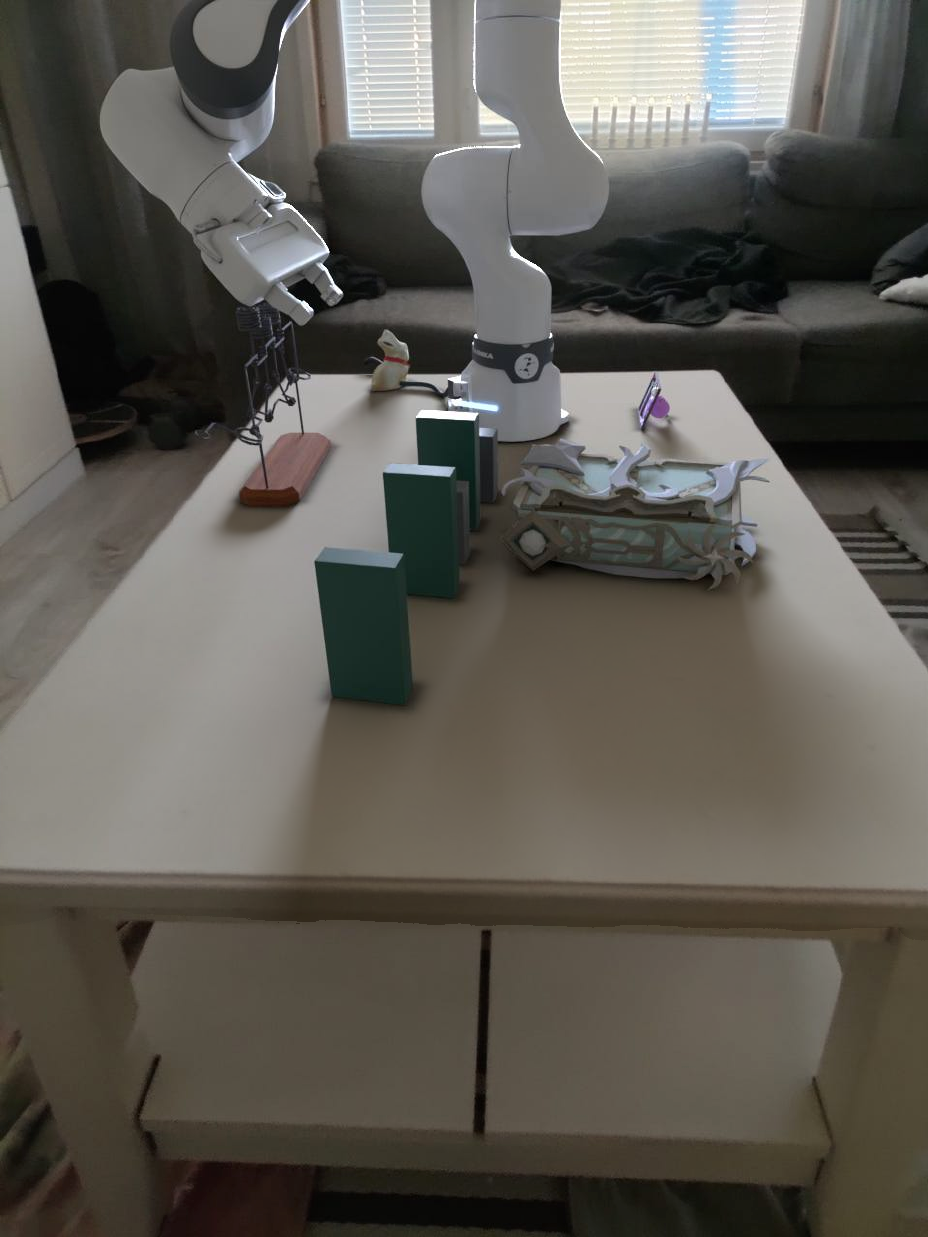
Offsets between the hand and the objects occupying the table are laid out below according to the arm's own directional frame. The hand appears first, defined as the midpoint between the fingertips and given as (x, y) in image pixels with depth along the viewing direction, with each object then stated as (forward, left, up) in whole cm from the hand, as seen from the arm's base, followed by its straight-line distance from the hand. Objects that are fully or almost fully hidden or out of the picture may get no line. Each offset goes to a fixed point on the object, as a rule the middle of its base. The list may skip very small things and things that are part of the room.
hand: (324, 310), depth 100 cm
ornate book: (+19, +31, -26) cm, 44 cm away
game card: (-18, +53, -26) cm, 62 cm away
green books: (+30, 0, -25) cm, 39 cm away
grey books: (+7, +12, -25) cm, 29 cm away
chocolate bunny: (-51, +18, -26) cm, 60 cm away
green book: (+7, +12, -25) cm, 29 cm away
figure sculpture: (-15, -6, -26) cm, 30 cm away
